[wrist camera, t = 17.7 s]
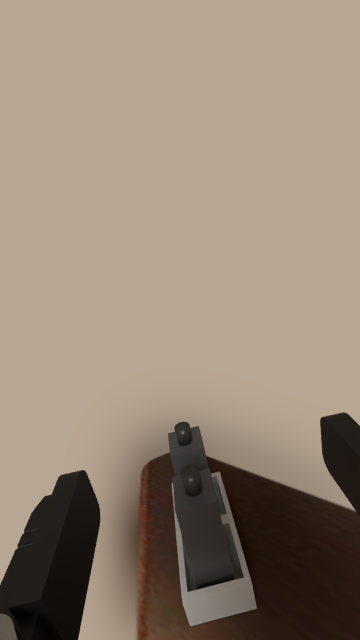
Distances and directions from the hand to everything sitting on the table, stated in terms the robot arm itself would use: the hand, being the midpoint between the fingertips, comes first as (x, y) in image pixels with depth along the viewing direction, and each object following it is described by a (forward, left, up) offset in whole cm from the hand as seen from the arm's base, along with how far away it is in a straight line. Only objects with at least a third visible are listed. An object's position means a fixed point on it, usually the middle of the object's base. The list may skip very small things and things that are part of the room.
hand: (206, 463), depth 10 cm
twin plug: (-8, -20, -30) cm, 37 cm away
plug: (-5, -14, -30) cm, 34 cm away
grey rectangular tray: (-7, -17, -31) cm, 36 cm away
